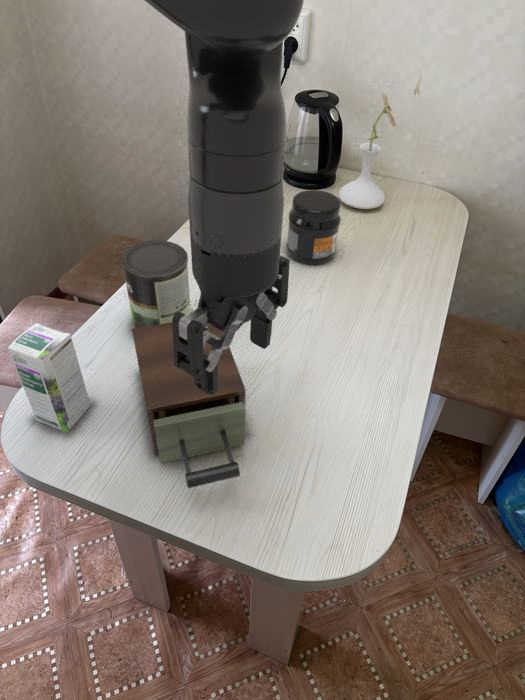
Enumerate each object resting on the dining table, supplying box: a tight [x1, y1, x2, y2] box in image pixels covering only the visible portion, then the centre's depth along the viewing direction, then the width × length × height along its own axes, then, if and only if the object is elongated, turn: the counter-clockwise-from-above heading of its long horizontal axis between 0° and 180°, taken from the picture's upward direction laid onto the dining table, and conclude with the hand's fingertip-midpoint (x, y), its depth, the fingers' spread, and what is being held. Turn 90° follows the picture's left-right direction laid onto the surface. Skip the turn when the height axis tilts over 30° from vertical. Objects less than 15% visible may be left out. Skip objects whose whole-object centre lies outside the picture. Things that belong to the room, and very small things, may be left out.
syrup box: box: [7, 322, 91, 433], centre depth 69 cm, size 6×6×14 cm
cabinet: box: [131, 322, 247, 456], centre depth 73 cm, size 16×13×10 cm
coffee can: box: [120, 239, 192, 329], centre depth 84 cm, size 10×10×14 cm
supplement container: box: [286, 189, 342, 265], centre depth 104 cm, size 10×10×12 cm
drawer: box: [153, 397, 246, 489], centre depth 69 cm, size 22×12×8 cm, turn 17°
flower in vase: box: [338, 90, 397, 210], centre depth 118 cm, size 13×11×25 cm
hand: (234, 365), depth 52 cm, fingers open, 8 cm apart
